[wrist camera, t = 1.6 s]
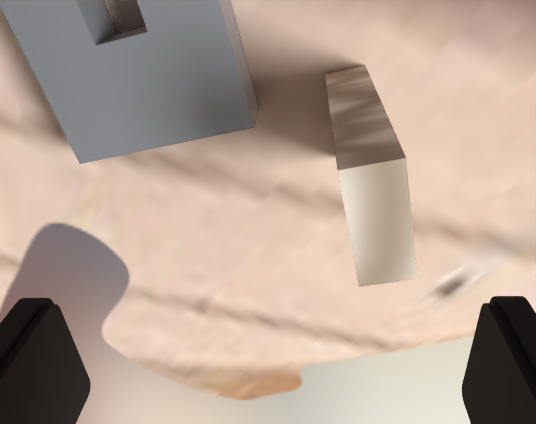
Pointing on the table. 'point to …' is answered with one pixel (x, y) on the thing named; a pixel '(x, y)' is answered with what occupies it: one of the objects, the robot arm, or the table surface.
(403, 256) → the pine slat
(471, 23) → the table surface
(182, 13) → the grey slotted tile
